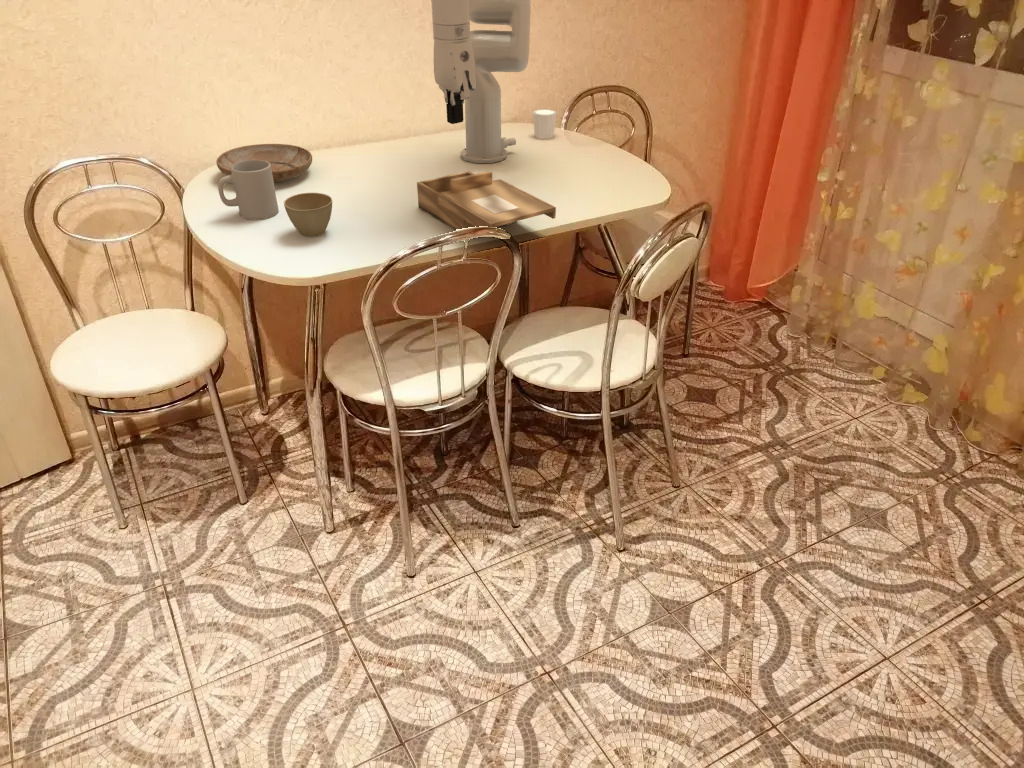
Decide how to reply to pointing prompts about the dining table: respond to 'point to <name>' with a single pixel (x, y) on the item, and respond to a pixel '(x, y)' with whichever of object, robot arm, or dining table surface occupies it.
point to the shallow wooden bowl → (269, 159)
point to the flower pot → (309, 212)
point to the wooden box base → (430, 200)
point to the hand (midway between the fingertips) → (455, 121)
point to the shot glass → (544, 123)
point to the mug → (251, 189)
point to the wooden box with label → (491, 201)
